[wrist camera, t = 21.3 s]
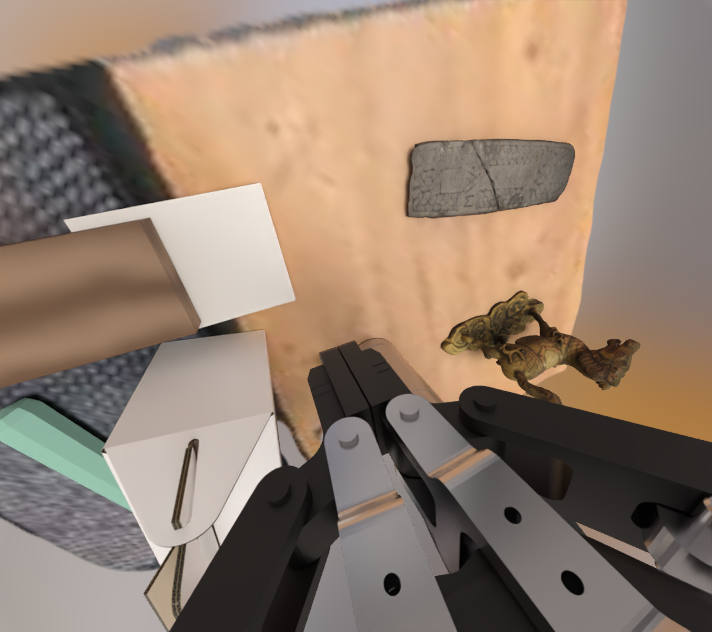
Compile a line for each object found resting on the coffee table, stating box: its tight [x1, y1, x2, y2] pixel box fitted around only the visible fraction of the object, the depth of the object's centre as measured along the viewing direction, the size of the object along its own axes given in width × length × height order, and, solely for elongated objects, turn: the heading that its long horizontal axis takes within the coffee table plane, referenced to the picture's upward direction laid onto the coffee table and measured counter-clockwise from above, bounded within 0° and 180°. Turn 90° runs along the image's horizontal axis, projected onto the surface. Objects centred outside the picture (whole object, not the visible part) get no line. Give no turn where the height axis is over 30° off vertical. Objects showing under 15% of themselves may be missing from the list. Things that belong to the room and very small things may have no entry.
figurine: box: [441, 291, 640, 405], centre depth 48 cm, size 13×25×20 cm, turn 99°
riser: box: [64, 183, 296, 328], centre depth 32 cm, size 14×18×4 cm
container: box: [0, 398, 132, 511], centre depth 38 cm, size 6×6×25 cm
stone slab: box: [408, 139, 575, 218], centre depth 42 cm, size 10×3×30 cm
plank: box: [0, 218, 201, 388], centre depth 27 cm, size 12×20×3 cm, turn 100°
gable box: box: [101, 330, 282, 632], centre depth 31 cm, size 22×13×28 cm, turn 179°
